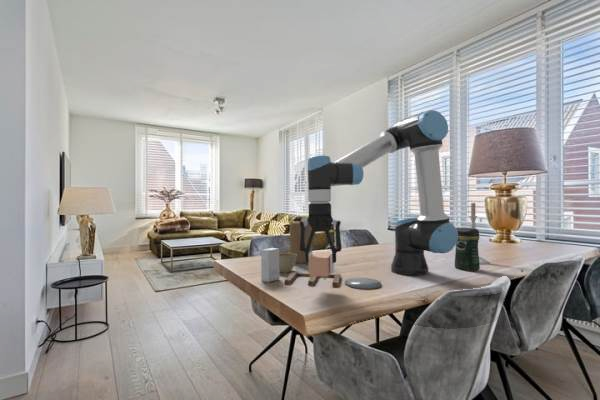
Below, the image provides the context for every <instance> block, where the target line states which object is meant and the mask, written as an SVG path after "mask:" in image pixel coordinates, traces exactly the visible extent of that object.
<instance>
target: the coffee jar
mask: <svg viewBox="0 0 600 400" xmlns="http://www.w3.org/2000/svg"><path fill="white" fill-rule="evenodd" d="M455 228H456V229H457V232H458V239H457V243H456V245H455V254H454V255H455V256H454V268H456V269H458V270H462V271H468V272H469V271H472V272H476V271H479V270H480V269H481V267H480V266H481V264H480V263H479V257H480V256H479V240H480V232H479V230H478V229H477V228H476V229H473V228H471V227H455Z"/></svg>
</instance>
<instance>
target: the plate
mask: <svg viewBox="0 0 600 400" xmlns="http://www.w3.org/2000/svg"><path fill="white" fill-rule="evenodd" d="M344 285H345V286H347V287H349V288H351V289H355V290H356V289H357V290H375V288H376V289H379V288H381V287H382V282H381V281H380V280H378V279H375V278H369V277H351V278H350V277H349V278H346V279H345V280H344Z"/></svg>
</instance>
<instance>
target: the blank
mask: <svg viewBox="0 0 600 400" xmlns="http://www.w3.org/2000/svg"><path fill="white" fill-rule="evenodd" d="M330 252H331V251H329V252H328V251H316V252H314V253H312V256H310V257H309V263H308V273H309V275H310V276H309V277H311V276H321V277H320V278H329V277H328V276H329V275H330ZM334 266H335V263H333V271H334V269H335V268H334Z"/></svg>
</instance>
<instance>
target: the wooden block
mask: <svg viewBox="0 0 600 400" xmlns="http://www.w3.org/2000/svg"><path fill="white" fill-rule="evenodd" d="M300 222H301V221H296V220H295V221H293V222H290V223H289V253H294V254H297V258H296V262H295V264H302V263H308V264H309V262H306V256H305V252H304V251H301V250H300V237H301V227H300ZM311 230H312V227H311V226H310V225H309V223H307V226H306V234H305V247H306V246H307V243H308V240H309V237H310V234H311ZM310 252H312V253H313V244H312V245H311V248H310Z"/></svg>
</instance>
